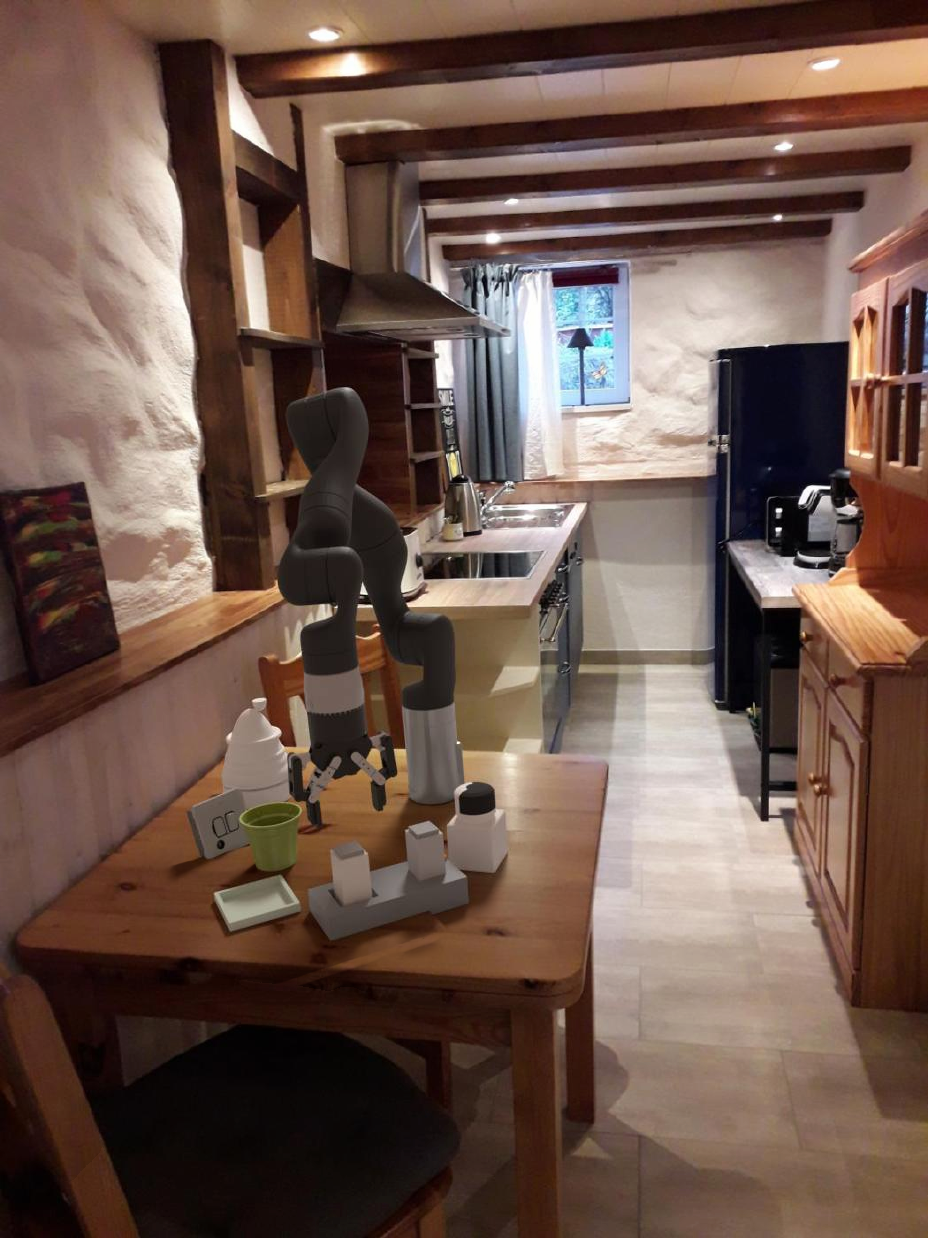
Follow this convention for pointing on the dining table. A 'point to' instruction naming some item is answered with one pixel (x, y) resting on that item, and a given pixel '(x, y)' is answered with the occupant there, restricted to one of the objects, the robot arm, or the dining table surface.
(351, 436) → the robot arm
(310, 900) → the grey peg socket block
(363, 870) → the plug
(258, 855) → the plant pot
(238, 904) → the tray
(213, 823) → the electrical switch
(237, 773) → the honey pot
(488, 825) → the medicine bottle
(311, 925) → the dining table surface
